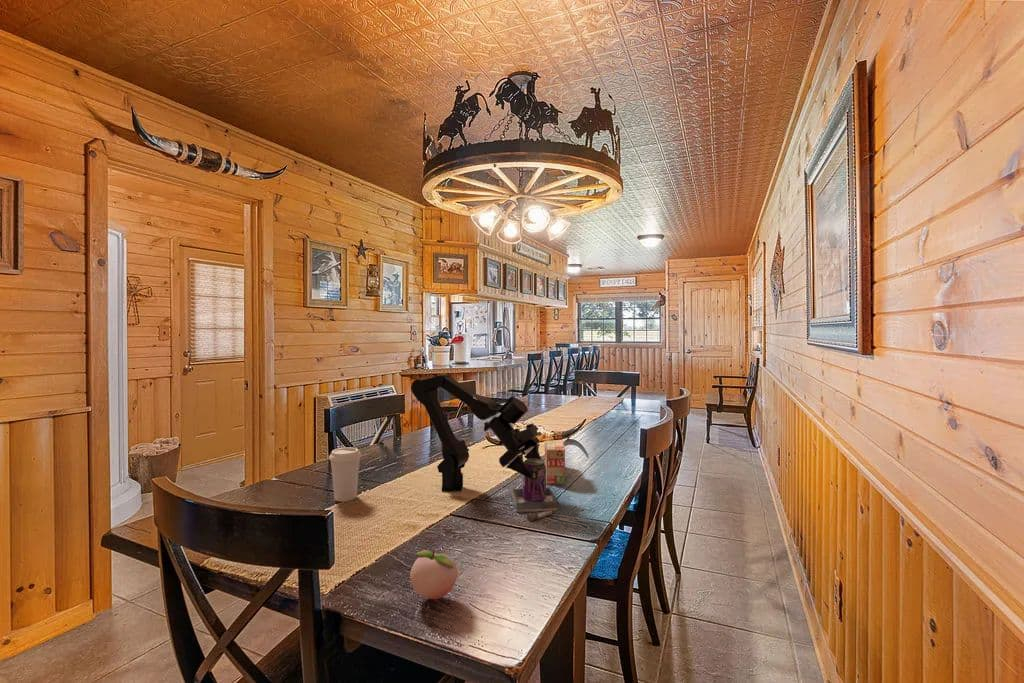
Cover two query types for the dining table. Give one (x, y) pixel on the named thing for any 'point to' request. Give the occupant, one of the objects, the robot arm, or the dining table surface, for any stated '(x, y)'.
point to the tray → (524, 505)
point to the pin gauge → (538, 515)
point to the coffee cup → (345, 473)
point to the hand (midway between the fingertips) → (537, 472)
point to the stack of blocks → (555, 462)
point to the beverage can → (535, 481)
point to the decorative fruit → (433, 575)
